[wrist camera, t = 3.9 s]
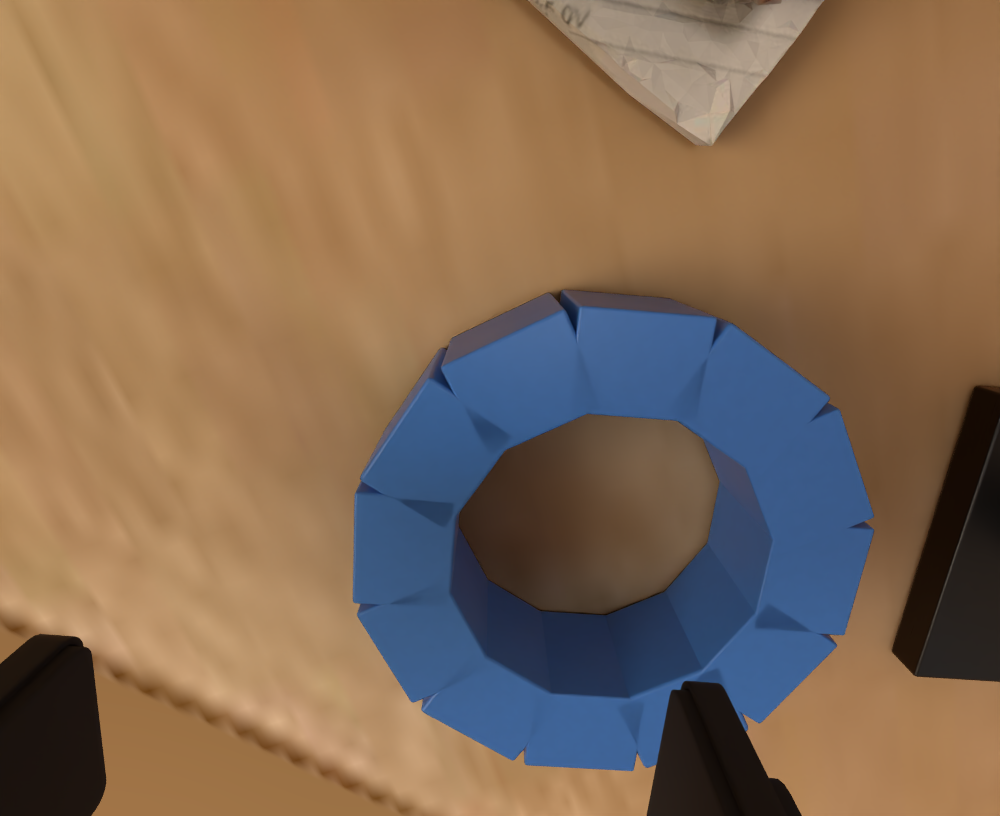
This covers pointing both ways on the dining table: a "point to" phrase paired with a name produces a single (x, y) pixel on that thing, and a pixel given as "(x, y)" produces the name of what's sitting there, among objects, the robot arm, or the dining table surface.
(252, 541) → the dining table surface
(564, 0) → the packaged product
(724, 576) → the tape
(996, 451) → the peg stand
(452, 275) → the dining table surface
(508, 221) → the dining table surface
